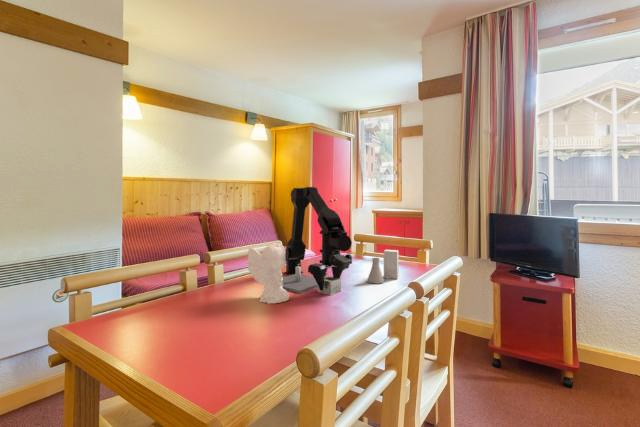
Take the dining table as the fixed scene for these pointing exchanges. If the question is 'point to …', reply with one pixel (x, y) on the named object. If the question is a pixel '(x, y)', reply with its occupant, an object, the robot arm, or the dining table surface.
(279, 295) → the cherub figurine
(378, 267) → the flask
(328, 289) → the grey hollow square block
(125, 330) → the dining table surface
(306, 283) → the post plate
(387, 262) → the skincare box
